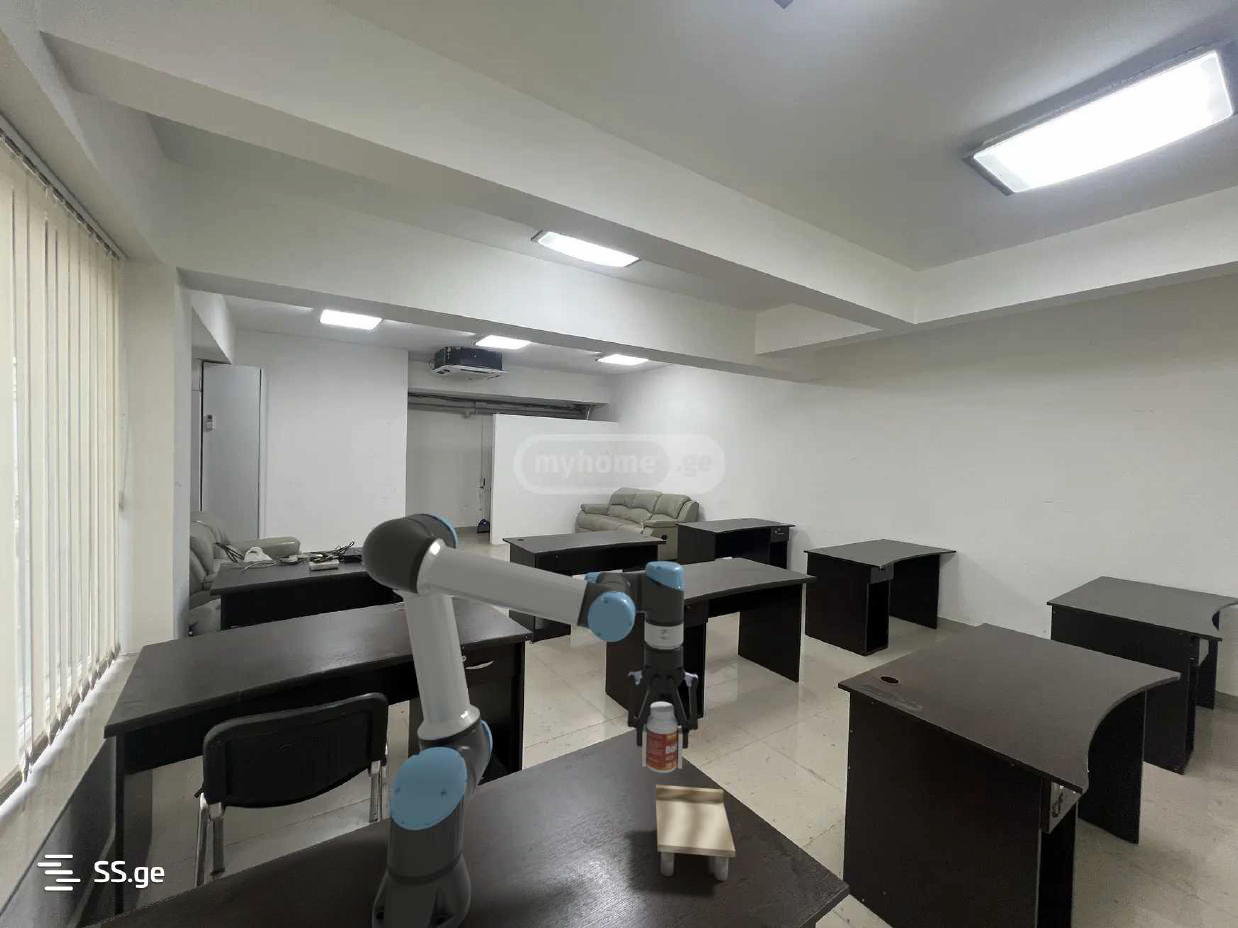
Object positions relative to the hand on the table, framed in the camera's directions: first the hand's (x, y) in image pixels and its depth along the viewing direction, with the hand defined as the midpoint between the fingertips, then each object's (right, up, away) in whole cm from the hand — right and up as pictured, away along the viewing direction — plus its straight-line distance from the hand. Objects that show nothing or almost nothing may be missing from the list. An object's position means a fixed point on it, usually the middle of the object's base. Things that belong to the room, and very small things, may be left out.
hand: (661, 762), depth 95 cm
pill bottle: (0, -1, 0) cm, 1 cm away
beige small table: (+6, -18, +1) cm, 19 cm away
